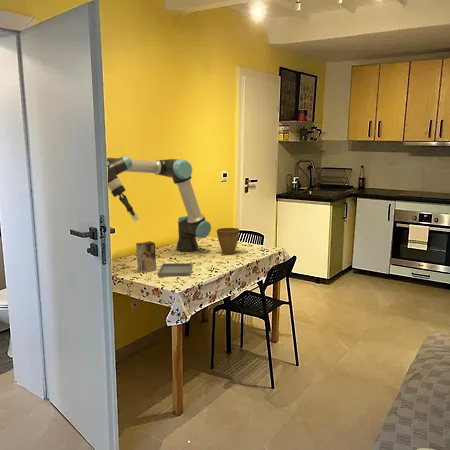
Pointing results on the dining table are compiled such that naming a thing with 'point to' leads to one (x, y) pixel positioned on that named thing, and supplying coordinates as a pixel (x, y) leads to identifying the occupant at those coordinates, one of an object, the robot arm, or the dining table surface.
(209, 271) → the dining table surface
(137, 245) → the coffee box
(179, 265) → the tray
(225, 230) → the plant pot
